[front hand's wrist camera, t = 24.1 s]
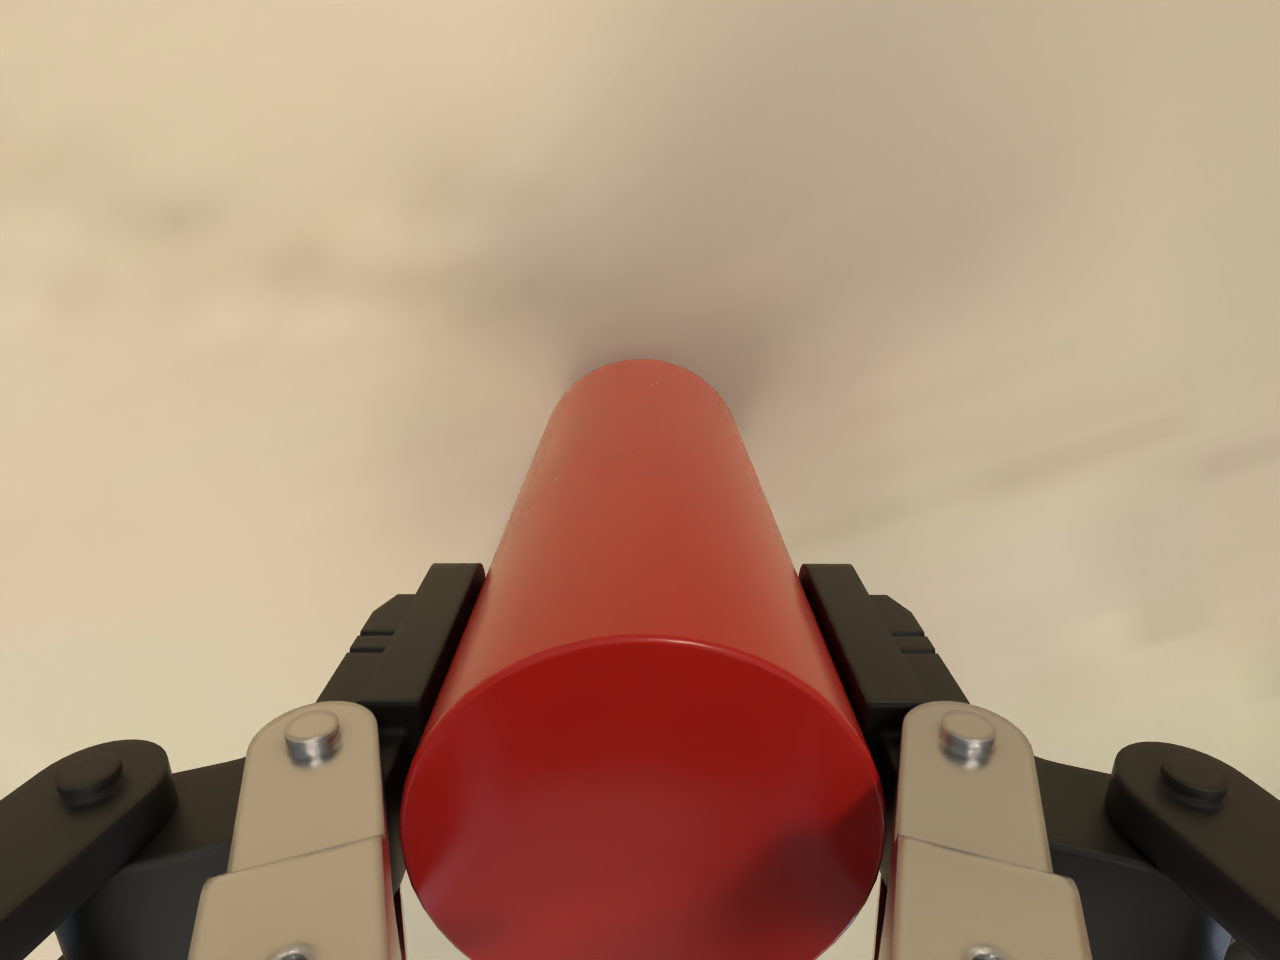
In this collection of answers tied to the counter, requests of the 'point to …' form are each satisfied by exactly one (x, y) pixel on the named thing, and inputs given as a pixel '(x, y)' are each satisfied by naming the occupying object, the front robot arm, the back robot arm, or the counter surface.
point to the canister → (642, 710)
